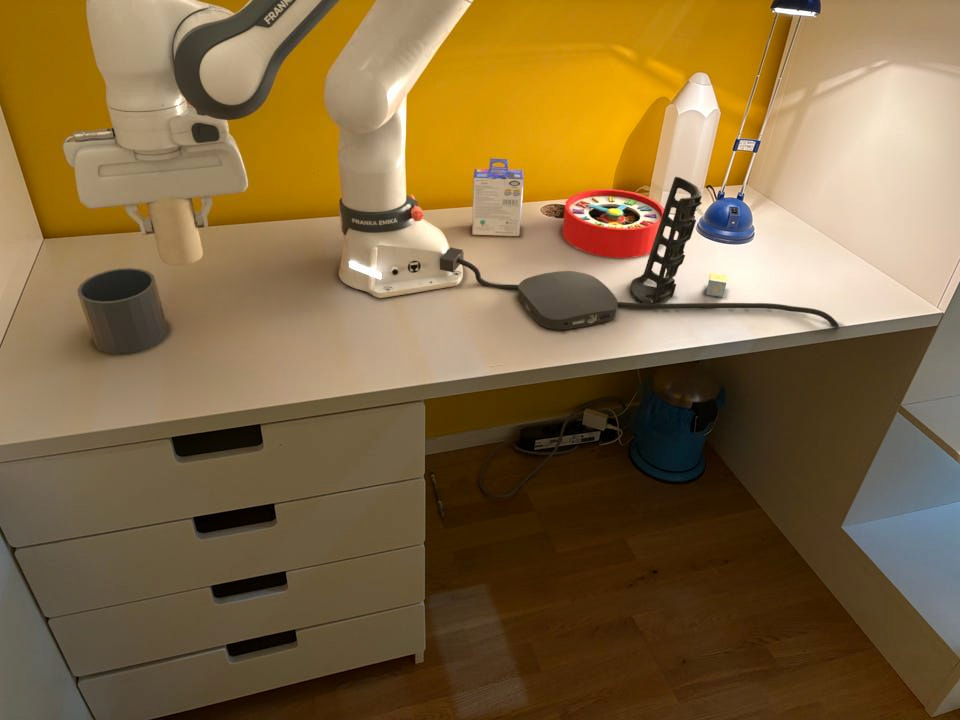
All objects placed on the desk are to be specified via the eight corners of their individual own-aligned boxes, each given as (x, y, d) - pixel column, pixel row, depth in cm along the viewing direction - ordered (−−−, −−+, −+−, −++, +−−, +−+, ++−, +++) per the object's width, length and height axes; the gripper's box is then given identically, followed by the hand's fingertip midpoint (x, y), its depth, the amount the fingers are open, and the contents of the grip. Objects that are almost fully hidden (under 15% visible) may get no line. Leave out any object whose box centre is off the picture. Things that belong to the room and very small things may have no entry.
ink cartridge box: (519, 225, 151) (524, 157, 143) (520, 237, 147) (525, 167, 138) (472, 224, 151) (474, 155, 143) (471, 235, 147) (473, 165, 138)
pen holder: (172, 315, 119) (160, 266, 114) (161, 351, 110) (147, 300, 105) (103, 319, 117) (87, 270, 112) (86, 357, 109) (68, 305, 104)
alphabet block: (705, 294, 130) (708, 279, 128) (707, 286, 132) (710, 271, 130) (723, 298, 129) (726, 282, 127) (724, 290, 131) (728, 275, 129)
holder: (622, 277, 133) (651, 173, 122) (661, 280, 134) (693, 177, 123) (637, 308, 124) (670, 200, 113) (679, 311, 126) (716, 204, 114)
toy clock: (638, 239, 134) (546, 211, 143) (634, 267, 137) (543, 238, 146) (682, 205, 147) (594, 181, 157) (676, 232, 151) (591, 207, 160)
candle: (190, 268, 97) (175, 197, 91) (152, 263, 98) (134, 193, 92) (210, 250, 101) (197, 181, 96) (174, 245, 102) (158, 177, 96)
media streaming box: (583, 279, 133) (585, 265, 131) (624, 320, 122) (627, 304, 120) (510, 292, 128) (511, 277, 126) (545, 335, 117) (547, 319, 115)
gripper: (55, 141, 83) (89, 250, 91) (240, 126, 90) (256, 229, 98) (59, 124, 88) (91, 229, 96) (234, 111, 94) (250, 211, 102)
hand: (176, 229), depth 97 cm, fingers closed on candle, 5 cm apart
